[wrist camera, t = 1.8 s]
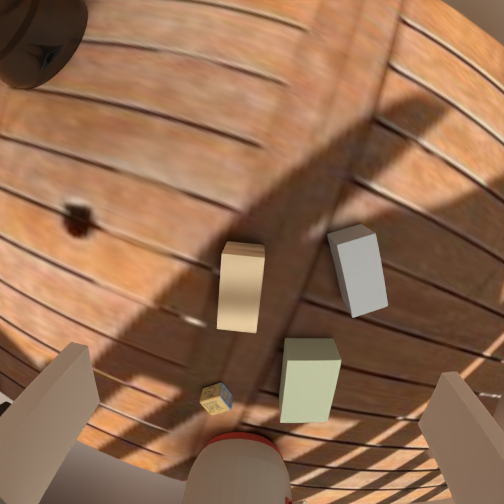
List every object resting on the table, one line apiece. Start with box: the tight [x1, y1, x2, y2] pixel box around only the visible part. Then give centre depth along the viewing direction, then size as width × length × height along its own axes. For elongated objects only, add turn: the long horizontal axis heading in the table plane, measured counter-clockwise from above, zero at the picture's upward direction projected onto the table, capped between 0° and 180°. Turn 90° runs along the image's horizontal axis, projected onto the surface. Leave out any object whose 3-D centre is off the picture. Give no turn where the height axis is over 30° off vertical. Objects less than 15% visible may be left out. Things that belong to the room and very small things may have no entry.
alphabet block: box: [200, 382, 233, 415], centre depth 38 cm, size 3×3×3 cm
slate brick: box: [327, 224, 388, 318], centre depth 32 cm, size 8×4×5 cm, turn 17°
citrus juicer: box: [182, 432, 307, 504], centre depth 34 cm, size 16×17×20 cm
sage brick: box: [279, 338, 341, 423], centre depth 36 cm, size 10×6×5 cm, turn 178°
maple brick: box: [217, 241, 265, 333], centre depth 33 cm, size 8×4×5 cm, turn 174°
